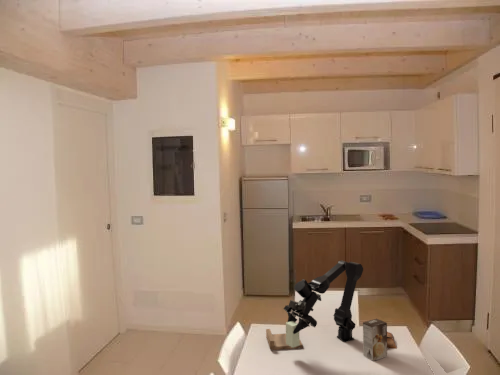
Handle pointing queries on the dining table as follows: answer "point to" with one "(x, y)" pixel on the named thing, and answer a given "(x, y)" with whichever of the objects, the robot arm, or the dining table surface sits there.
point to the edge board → (278, 341)
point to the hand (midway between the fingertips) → (290, 331)
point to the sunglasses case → (390, 341)
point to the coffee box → (375, 339)
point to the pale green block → (292, 334)
